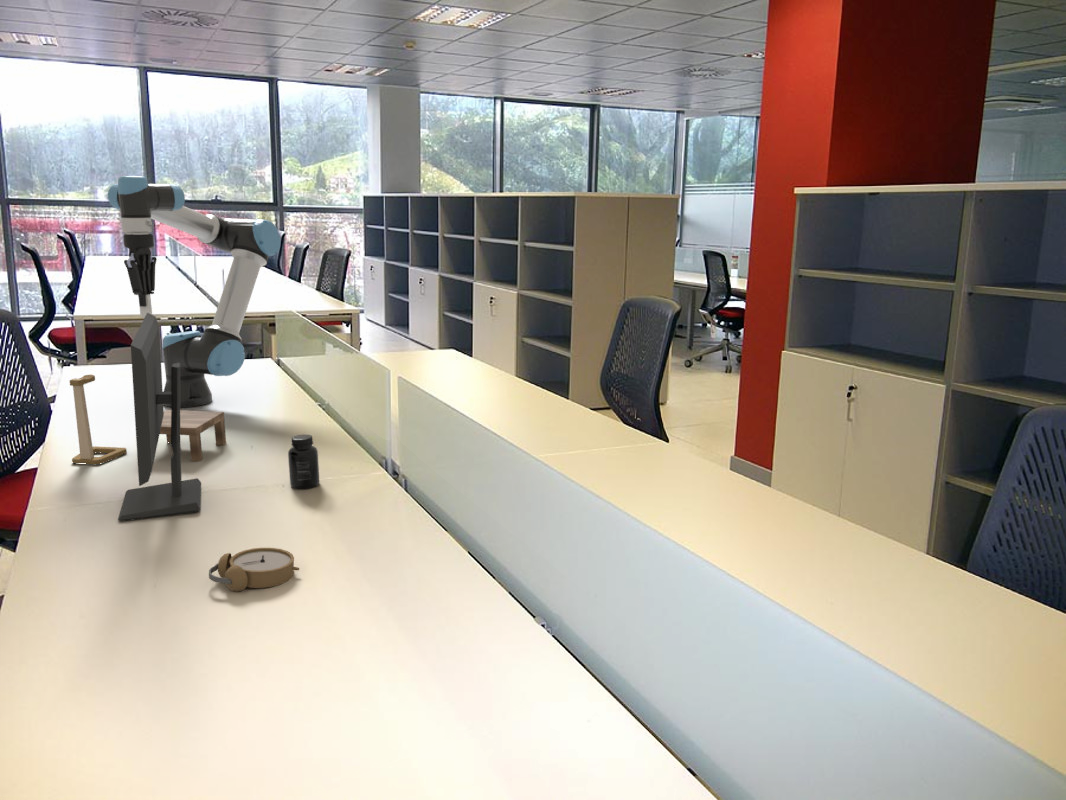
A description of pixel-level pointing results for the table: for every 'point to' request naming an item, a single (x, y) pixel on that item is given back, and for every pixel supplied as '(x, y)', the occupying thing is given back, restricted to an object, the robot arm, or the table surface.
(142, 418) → the computer monitor
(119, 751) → the table surface
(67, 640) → the table surface
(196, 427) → the stool
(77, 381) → the headphone stand
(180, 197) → the robot arm
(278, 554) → the alarm clock
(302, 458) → the supplement bottle
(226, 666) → the table surface
